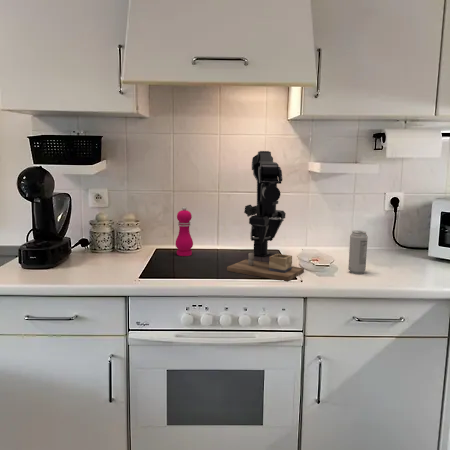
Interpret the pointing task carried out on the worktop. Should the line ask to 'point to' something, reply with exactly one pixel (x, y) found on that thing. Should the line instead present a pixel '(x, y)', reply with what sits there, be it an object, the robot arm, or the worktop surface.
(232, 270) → the pin board
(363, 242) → the energy drink can
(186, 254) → the pepper mill
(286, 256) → the sleeve
